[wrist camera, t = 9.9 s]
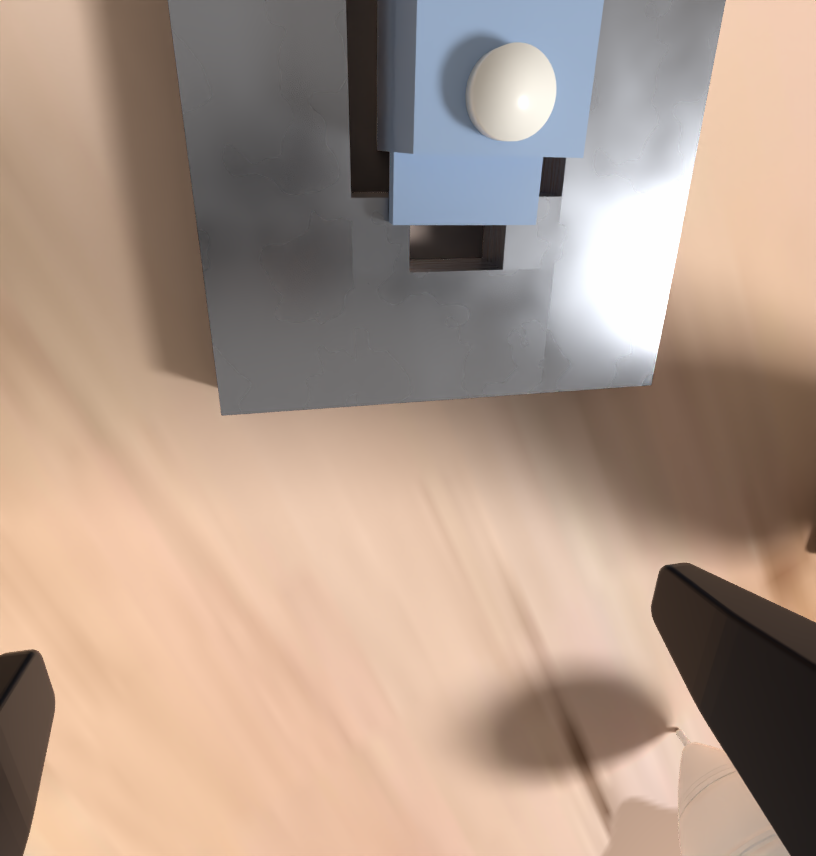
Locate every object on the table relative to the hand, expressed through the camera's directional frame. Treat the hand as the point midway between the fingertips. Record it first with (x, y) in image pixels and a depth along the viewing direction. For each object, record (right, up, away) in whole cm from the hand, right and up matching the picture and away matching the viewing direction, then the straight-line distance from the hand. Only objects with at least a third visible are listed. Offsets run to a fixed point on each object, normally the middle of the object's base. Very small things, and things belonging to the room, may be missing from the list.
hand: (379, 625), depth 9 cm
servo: (+2, +14, +8) cm, 16 cm away
